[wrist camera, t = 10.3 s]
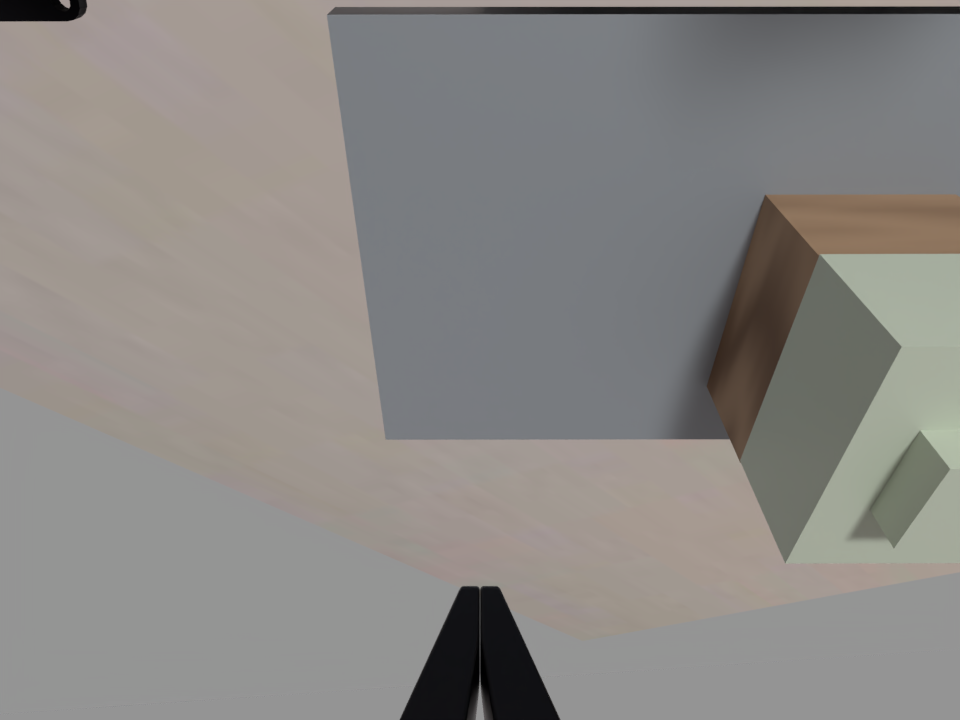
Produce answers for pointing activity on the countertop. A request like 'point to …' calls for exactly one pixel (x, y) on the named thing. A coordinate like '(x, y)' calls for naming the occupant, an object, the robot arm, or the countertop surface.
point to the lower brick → (787, 271)
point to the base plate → (606, 191)
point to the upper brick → (865, 416)
